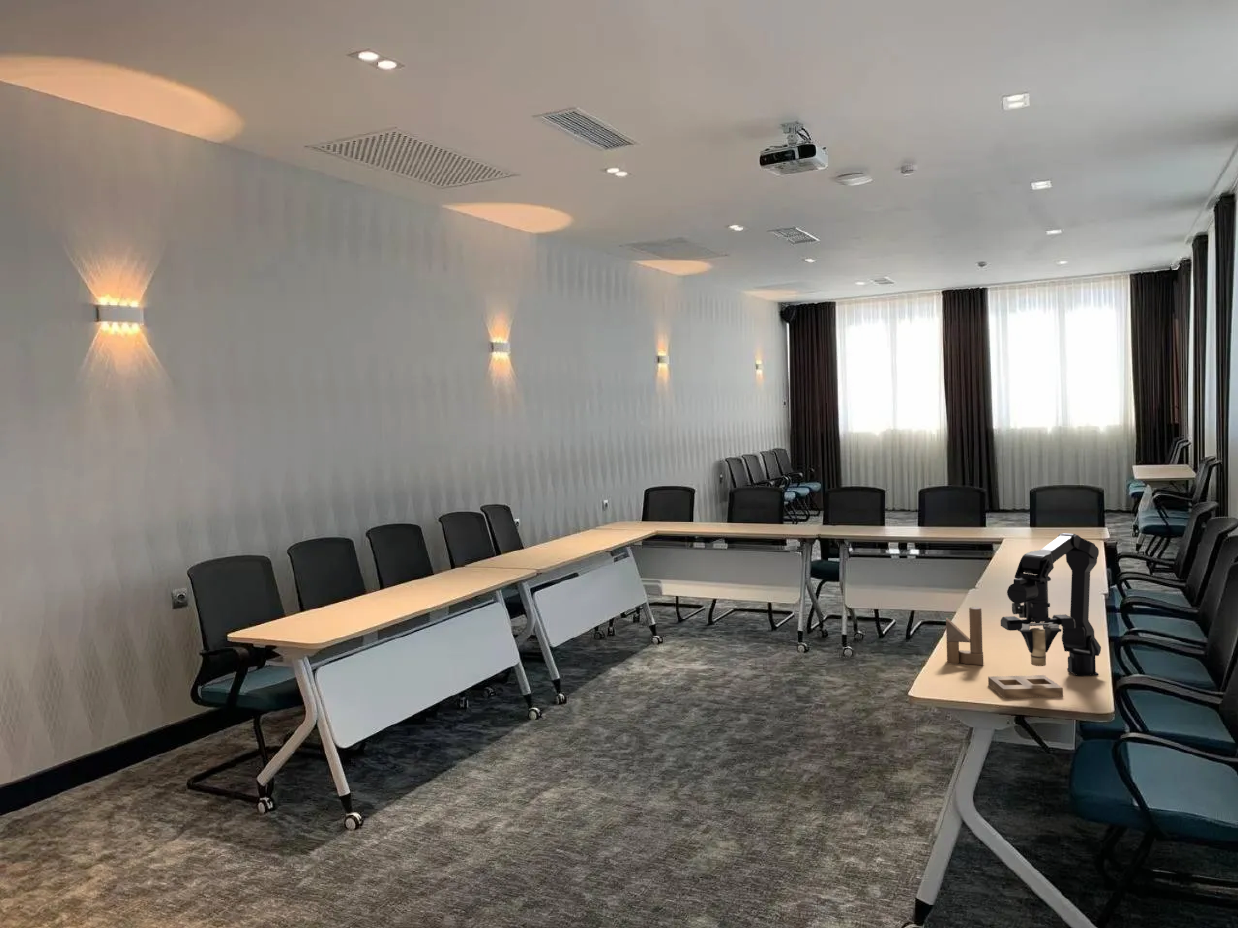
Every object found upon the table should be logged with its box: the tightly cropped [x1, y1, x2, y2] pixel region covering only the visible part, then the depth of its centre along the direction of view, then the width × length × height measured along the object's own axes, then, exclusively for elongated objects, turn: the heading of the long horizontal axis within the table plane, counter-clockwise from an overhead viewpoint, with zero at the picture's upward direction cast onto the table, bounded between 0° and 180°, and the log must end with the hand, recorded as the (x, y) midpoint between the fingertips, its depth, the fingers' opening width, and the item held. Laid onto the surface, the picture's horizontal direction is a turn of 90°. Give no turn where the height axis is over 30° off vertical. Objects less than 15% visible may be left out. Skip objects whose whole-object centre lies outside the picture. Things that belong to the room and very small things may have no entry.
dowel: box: [1030, 627, 1047, 667], centre depth 247 cm, size 4×4×10 cm
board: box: [987, 674, 1064, 699], centre depth 248 cm, size 16×12×2 cm
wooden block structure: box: [945, 606, 984, 666], centre depth 277 cm, size 4×11×18 cm, turn 68°
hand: (1038, 652), depth 247 cm, fingers closed on dowel, 4 cm apart
